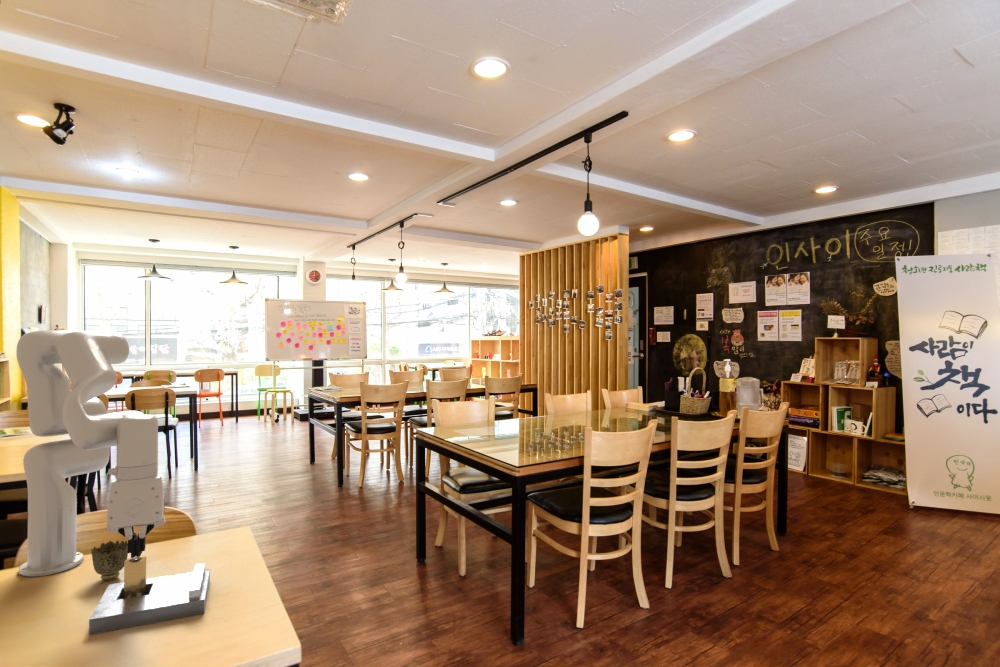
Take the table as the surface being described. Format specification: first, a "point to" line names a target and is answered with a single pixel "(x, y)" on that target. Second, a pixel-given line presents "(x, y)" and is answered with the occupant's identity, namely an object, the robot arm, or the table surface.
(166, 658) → the table surface
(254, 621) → the table surface
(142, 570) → the brass bushing
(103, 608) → the plate
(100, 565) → the cup
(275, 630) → the table surface
